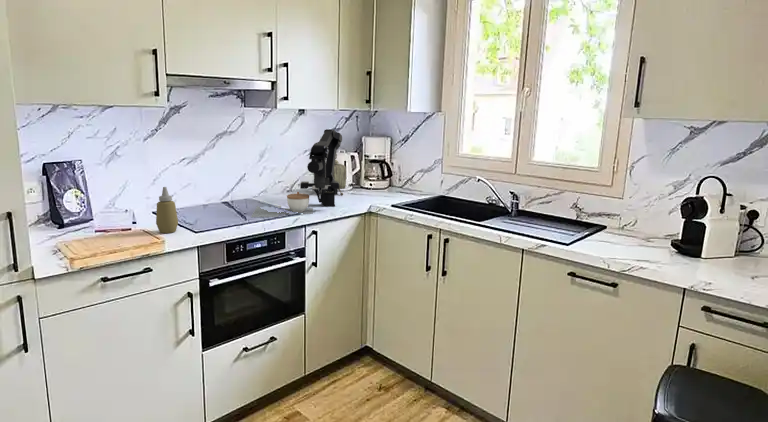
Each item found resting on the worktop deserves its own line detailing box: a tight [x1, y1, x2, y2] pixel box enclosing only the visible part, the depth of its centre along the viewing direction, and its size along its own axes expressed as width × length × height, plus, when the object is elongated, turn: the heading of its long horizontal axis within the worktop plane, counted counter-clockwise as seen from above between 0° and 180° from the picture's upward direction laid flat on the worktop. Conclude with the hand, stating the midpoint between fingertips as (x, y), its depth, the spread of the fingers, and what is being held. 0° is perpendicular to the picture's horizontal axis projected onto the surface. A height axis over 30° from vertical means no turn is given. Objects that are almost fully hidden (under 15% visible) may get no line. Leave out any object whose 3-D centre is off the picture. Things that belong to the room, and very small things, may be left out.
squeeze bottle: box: [155, 186, 179, 234], centre depth 195 cm, size 8×8×18 cm
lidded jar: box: [286, 191, 310, 212], centre depth 240 cm, size 11×11×9 cm
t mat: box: [250, 205, 314, 218], centre depth 240 cm, size 28×26×1 cm
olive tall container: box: [333, 153, 347, 196], centre depth 288 cm, size 14×9×25 cm, turn 30°
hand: (320, 202), depth 242 cm, fingers closed
